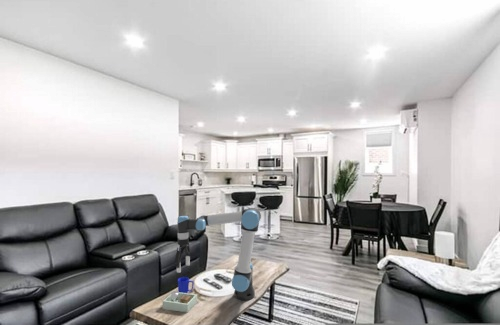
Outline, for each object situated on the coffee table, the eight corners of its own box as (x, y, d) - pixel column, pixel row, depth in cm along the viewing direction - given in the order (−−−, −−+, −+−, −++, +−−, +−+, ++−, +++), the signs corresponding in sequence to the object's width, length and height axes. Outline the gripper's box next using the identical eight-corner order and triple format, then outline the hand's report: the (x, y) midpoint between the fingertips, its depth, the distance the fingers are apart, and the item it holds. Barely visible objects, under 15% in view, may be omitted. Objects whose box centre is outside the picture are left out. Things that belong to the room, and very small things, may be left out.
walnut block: (190, 303, 177) (190, 296, 177) (186, 307, 172) (186, 299, 172) (183, 302, 178) (184, 295, 178) (180, 306, 173) (180, 298, 174)
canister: (179, 302, 179) (179, 291, 179) (176, 305, 174) (176, 295, 174) (173, 301, 180) (173, 290, 180) (169, 304, 175) (169, 294, 175)
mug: (190, 296, 188) (191, 282, 189) (175, 294, 191) (175, 280, 191) (195, 291, 196) (195, 277, 197) (180, 289, 199) (180, 276, 199)
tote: (197, 302, 180) (197, 294, 181) (187, 312, 167) (187, 304, 167) (173, 298, 185) (173, 291, 185) (162, 308, 171) (162, 301, 171)
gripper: (186, 233, 198) (186, 262, 197) (169, 242, 174) (169, 275, 173) (195, 234, 196) (195, 262, 195) (179, 243, 172) (179, 275, 171)
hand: (183, 268), depth 184 cm, fingers open, 13 cm apart
